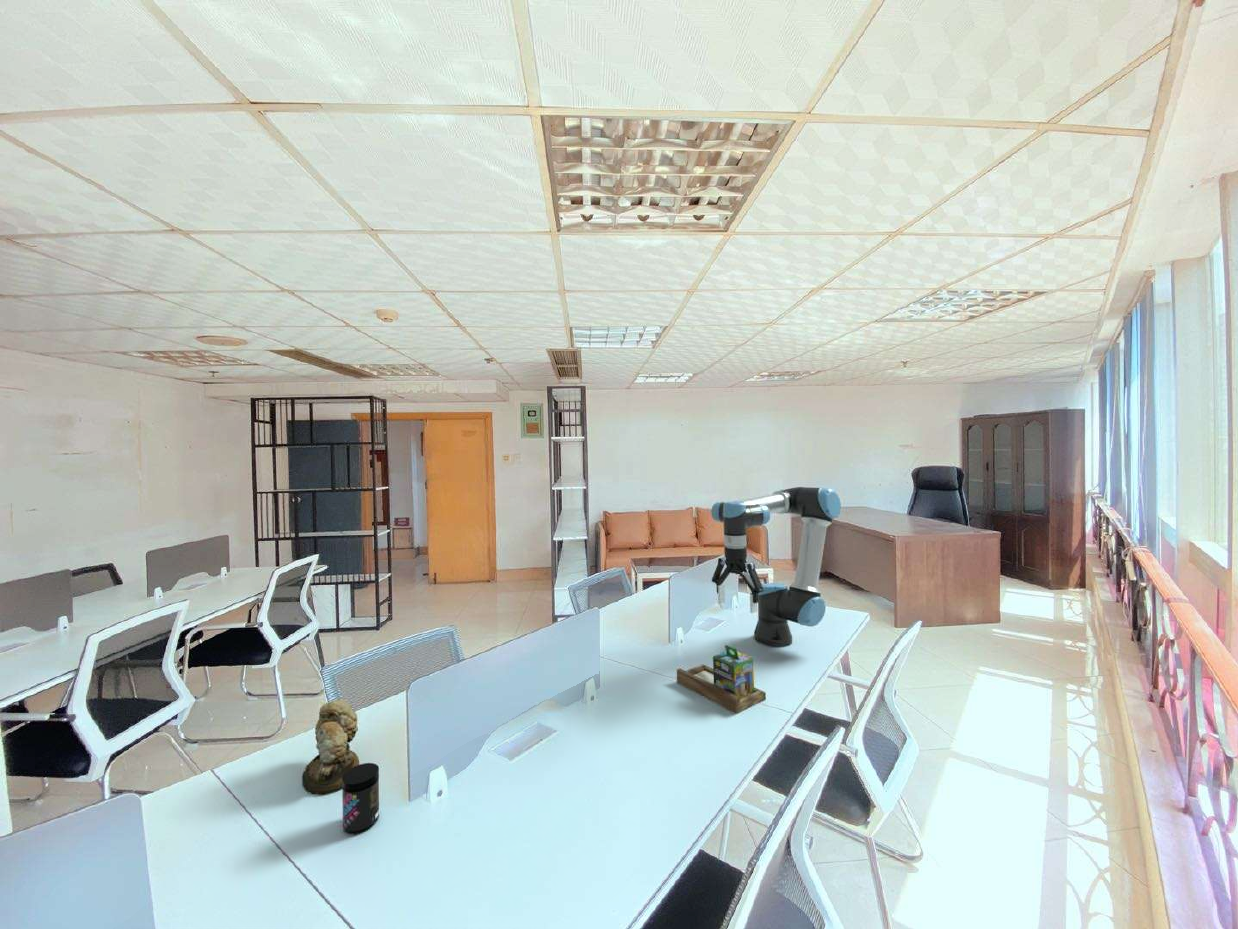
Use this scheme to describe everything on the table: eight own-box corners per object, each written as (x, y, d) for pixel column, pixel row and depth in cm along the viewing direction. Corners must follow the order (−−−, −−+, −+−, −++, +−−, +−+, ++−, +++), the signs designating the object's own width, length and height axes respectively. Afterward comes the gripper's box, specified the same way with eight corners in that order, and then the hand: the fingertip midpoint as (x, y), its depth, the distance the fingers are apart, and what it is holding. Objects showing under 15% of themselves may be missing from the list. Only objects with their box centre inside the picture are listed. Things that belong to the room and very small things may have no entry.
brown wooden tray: (705, 671, 169) (705, 658, 169) (765, 699, 149) (765, 685, 149) (676, 682, 160) (676, 669, 160) (736, 714, 140) (736, 698, 140)
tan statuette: (300, 763, 119) (300, 694, 119) (353, 746, 126) (353, 681, 126) (303, 804, 105) (303, 725, 105) (364, 783, 111) (364, 709, 112)
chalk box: (755, 695, 149) (754, 647, 149) (734, 703, 143) (734, 654, 143) (732, 683, 156) (732, 638, 156) (712, 691, 151) (712, 644, 151)
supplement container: (347, 815, 101) (346, 766, 101) (382, 808, 103) (381, 760, 103) (338, 839, 95) (337, 787, 94) (376, 831, 97) (375, 780, 96)
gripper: (700, 543, 173) (702, 601, 174) (759, 553, 153) (761, 619, 154) (714, 540, 178) (716, 597, 178) (773, 549, 158) (775, 613, 159)
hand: (737, 607), depth 166 cm, fingers open, 13 cm apart
